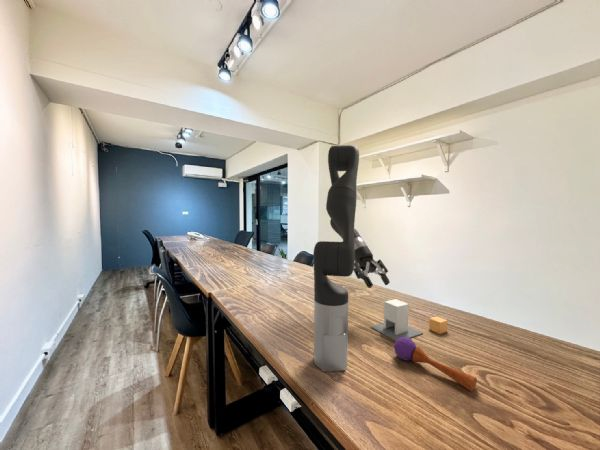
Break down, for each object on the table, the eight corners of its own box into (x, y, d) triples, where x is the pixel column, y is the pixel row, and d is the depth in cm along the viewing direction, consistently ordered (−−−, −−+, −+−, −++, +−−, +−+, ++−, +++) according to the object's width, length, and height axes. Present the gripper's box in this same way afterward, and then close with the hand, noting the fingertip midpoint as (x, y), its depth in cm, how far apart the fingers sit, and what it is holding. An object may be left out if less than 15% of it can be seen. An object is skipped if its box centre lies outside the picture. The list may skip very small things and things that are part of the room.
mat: (422, 334, 88) (422, 332, 87) (398, 342, 82) (398, 341, 82) (394, 320, 98) (394, 319, 98) (370, 327, 92) (370, 326, 92)
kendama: (469, 381, 57) (389, 339, 73) (468, 403, 59) (390, 357, 74) (479, 366, 61) (401, 329, 76) (478, 387, 62) (401, 347, 78)
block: (447, 331, 90) (447, 320, 90) (440, 334, 88) (440, 322, 88) (436, 327, 93) (436, 316, 93) (429, 329, 91) (429, 318, 91)
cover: (408, 331, 89) (408, 304, 88) (396, 334, 86) (397, 306, 86) (395, 324, 94) (395, 299, 93) (383, 328, 91) (384, 301, 91)
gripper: (350, 246, 100) (370, 282, 90) (377, 244, 107) (398, 277, 97) (341, 257, 105) (360, 293, 95) (367, 255, 112) (387, 288, 102)
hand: (379, 285), depth 96 cm, fingers open, 8 cm apart
